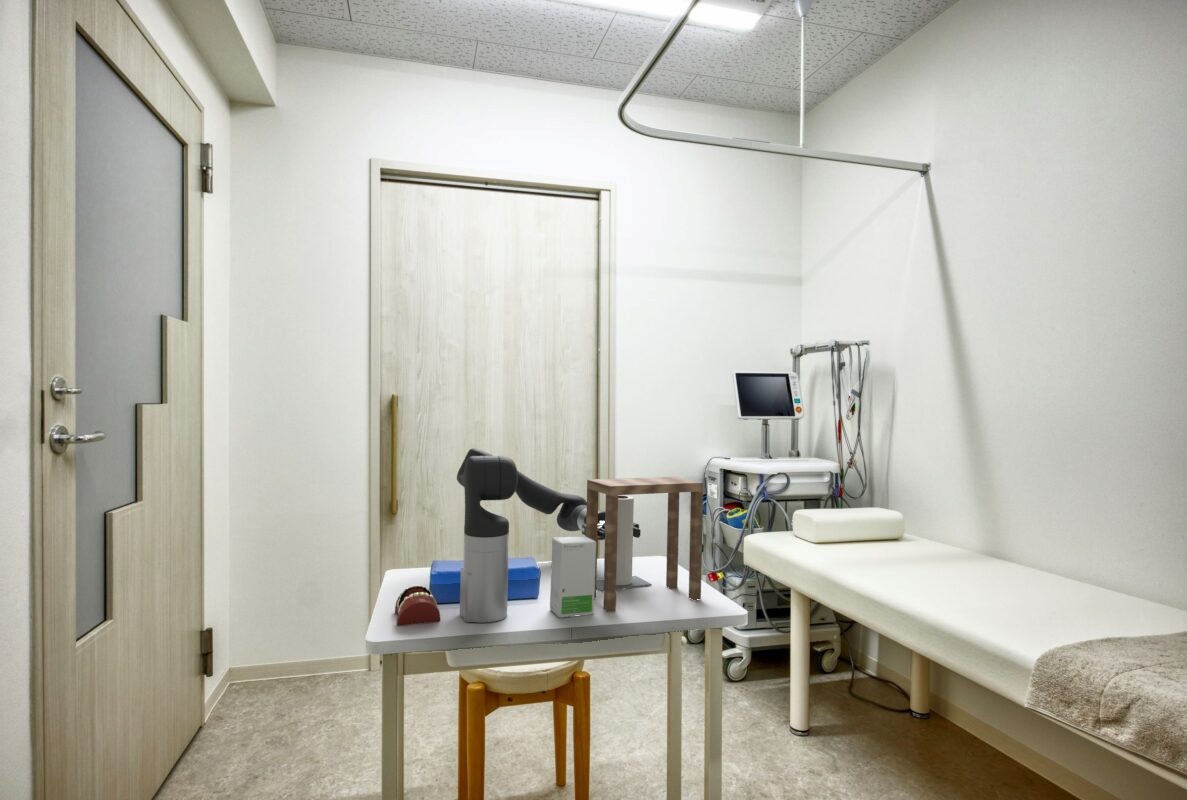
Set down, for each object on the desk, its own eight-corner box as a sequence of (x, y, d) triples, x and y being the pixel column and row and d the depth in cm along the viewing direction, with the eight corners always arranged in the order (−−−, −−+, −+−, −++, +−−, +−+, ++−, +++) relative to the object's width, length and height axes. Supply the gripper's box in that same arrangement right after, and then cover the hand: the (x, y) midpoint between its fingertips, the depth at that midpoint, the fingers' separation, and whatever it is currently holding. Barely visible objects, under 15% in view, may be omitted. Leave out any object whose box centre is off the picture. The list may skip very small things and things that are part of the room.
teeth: (433, 577, 137) (441, 594, 126) (434, 606, 137) (441, 625, 126) (393, 582, 134) (397, 599, 123) (393, 612, 134) (397, 632, 123)
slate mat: (600, 591, 151) (600, 589, 151) (586, 582, 158) (586, 581, 158) (651, 585, 157) (651, 584, 157) (635, 577, 164) (635, 575, 164)
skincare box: (558, 618, 131) (559, 543, 131) (548, 609, 137) (550, 537, 137) (595, 614, 134) (597, 541, 134) (584, 605, 140) (586, 534, 140)
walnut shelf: (607, 612, 136) (610, 486, 136) (584, 596, 147) (587, 479, 147) (700, 599, 146) (703, 482, 146) (673, 585, 157) (675, 476, 157)
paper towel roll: (632, 586, 154) (634, 498, 154) (607, 586, 154) (609, 498, 154) (631, 578, 161) (633, 494, 161) (607, 577, 161) (609, 493, 161)
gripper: (618, 535, 173) (648, 547, 159) (570, 538, 167) (596, 552, 153) (619, 507, 173) (649, 517, 159) (571, 510, 168) (597, 521, 153)
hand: (623, 534), depth 156 cm, fingers open, 8 cm apart
